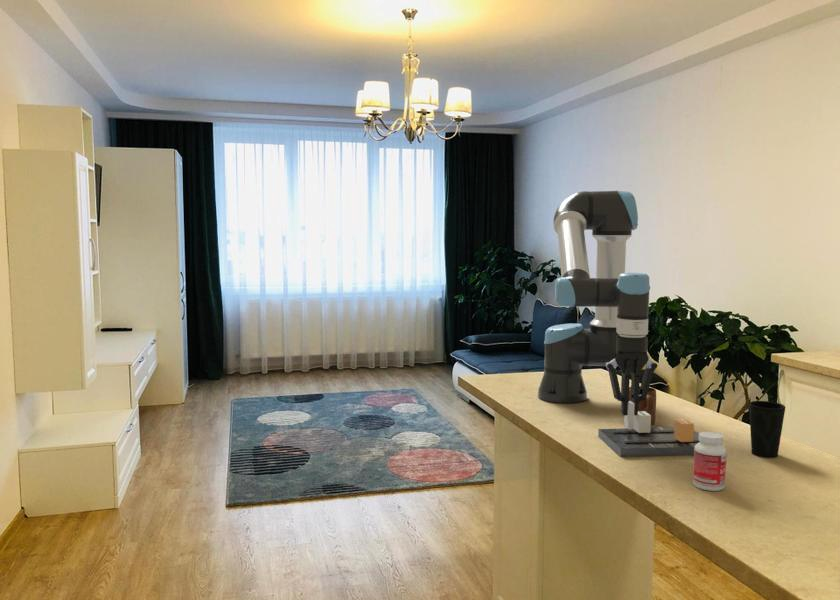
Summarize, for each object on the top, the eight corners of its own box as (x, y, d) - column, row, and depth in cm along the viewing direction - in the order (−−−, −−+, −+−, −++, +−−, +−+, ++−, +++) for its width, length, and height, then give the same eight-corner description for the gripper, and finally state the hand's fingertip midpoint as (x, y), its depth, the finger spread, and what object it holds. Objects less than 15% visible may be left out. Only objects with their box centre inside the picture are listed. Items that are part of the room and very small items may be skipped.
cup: (739, 451, 166) (741, 402, 165) (762, 447, 169) (764, 399, 168) (766, 461, 159) (769, 410, 158) (790, 456, 162) (793, 407, 161)
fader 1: (632, 428, 176) (633, 411, 176) (644, 427, 176) (644, 410, 176) (638, 432, 172) (639, 415, 172) (650, 432, 172) (651, 414, 172)
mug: (664, 430, 183) (666, 396, 182) (636, 430, 183) (637, 396, 182) (650, 418, 195) (651, 385, 194) (623, 418, 195) (624, 385, 194)
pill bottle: (725, 493, 140) (727, 440, 138) (692, 489, 142) (695, 437, 141) (724, 483, 145) (726, 432, 144) (692, 479, 148) (694, 429, 146)
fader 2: (673, 437, 169) (674, 419, 168) (685, 436, 169) (686, 418, 168) (681, 442, 165) (681, 423, 164) (693, 441, 165) (693, 423, 165)
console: (598, 436, 178) (598, 427, 178) (688, 434, 180) (688, 426, 179) (620, 456, 162) (620, 447, 162) (719, 454, 164) (719, 445, 163)
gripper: (611, 337, 167) (608, 432, 170) (663, 337, 168) (660, 431, 171) (601, 333, 175) (598, 423, 177) (651, 332, 176) (648, 423, 178)
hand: (628, 427), depth 174 cm, fingers closed
